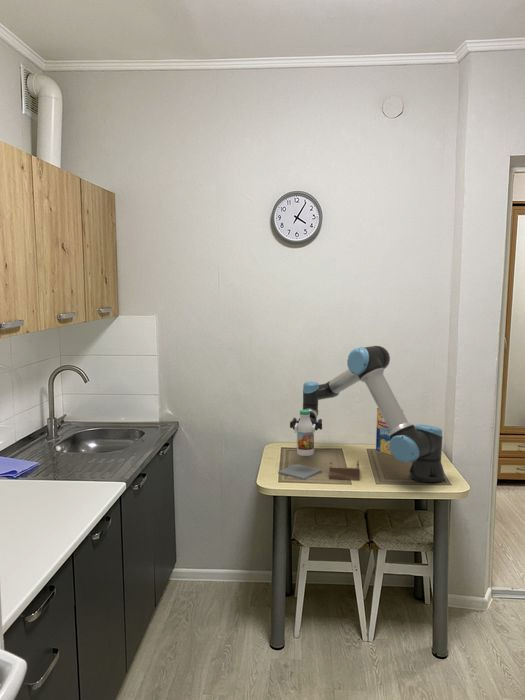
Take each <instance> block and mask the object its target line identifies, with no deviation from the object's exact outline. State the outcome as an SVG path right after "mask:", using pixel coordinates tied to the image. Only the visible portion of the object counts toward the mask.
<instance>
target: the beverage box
mask: <svg viewBox="0 0 525 700" xmlns="http://www.w3.org/2000/svg"><path fill="white" fill-rule="evenodd" d="M402 411H403V412H404V410H403V409H402ZM375 433H376V434H375V435H376V437H375V451H376V450H378V451H377V452H379V451H380V453H382V452H384V453H383V454H386V455H390V456H392V454H391V452H390V448H389V446H390V441H391V440H390V438H389V434H390V430H389V428H388V426H387V424H386V422H385V420H384V418H383V416H382V414H381V412H380V410H379V408H378V407H377V408H376V431H375Z"/></svg>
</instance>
